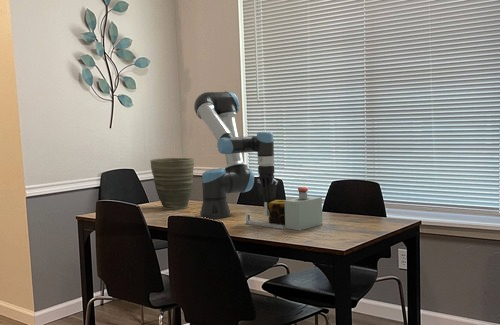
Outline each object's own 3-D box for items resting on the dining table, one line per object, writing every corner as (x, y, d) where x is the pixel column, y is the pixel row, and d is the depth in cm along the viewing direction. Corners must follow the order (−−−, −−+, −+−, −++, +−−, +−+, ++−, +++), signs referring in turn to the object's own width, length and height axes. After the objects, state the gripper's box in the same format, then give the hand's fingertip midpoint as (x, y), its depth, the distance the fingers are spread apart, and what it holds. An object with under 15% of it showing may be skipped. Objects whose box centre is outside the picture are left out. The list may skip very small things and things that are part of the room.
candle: (290, 225, 250) (289, 203, 249) (268, 225, 254) (267, 202, 253) (296, 221, 260) (295, 199, 259) (275, 220, 263) (274, 199, 262)
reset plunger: (296, 206, 247) (295, 188, 247) (302, 204, 250) (302, 186, 250) (304, 207, 244) (303, 188, 244) (310, 205, 247) (310, 187, 247)
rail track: (246, 223, 259) (245, 215, 259) (274, 217, 273) (273, 208, 273) (282, 228, 244) (282, 219, 243) (310, 221, 258) (310, 213, 257)
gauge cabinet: (283, 228, 246) (282, 200, 245) (306, 222, 257) (305, 196, 256) (299, 230, 239) (298, 202, 238) (322, 224, 251) (321, 197, 250)
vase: (199, 210, 305) (190, 156, 299) (156, 217, 305) (146, 163, 299) (203, 198, 329) (194, 148, 323) (162, 204, 329) (153, 154, 323)
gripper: (250, 165, 262) (252, 215, 264) (271, 166, 253) (273, 218, 255) (261, 164, 268) (263, 213, 269) (282, 165, 259) (283, 215, 260)
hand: (267, 215), depth 262 cm, fingers closed
